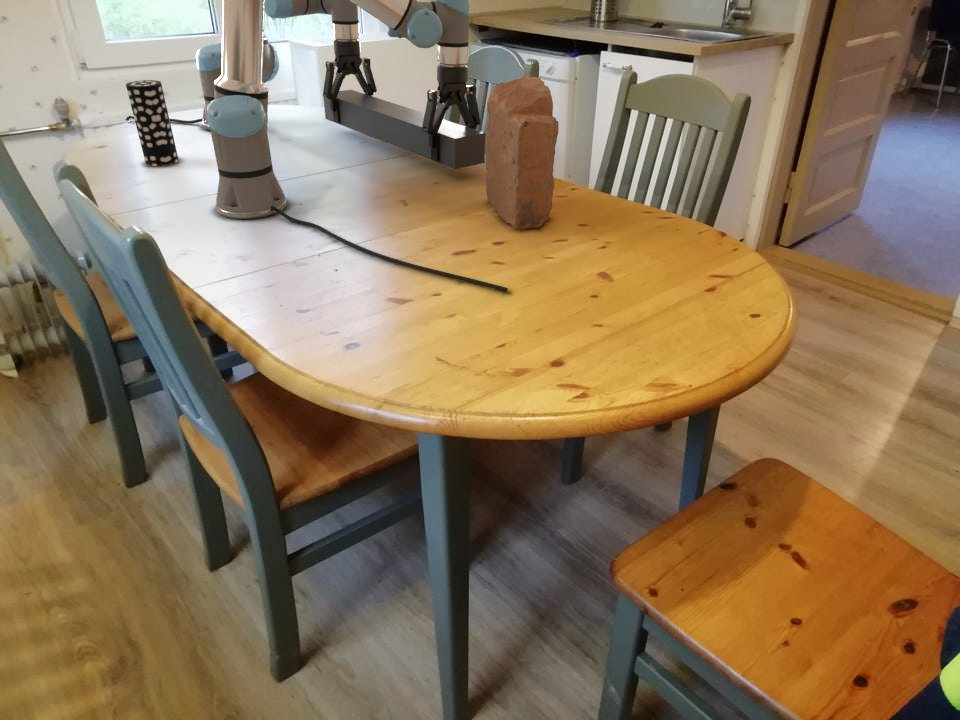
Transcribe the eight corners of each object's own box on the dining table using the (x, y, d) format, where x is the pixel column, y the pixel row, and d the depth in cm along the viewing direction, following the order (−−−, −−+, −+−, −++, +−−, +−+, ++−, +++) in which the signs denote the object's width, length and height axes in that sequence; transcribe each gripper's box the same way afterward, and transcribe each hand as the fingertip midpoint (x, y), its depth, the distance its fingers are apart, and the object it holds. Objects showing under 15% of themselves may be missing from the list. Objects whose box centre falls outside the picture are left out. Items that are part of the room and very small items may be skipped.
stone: (564, 226, 149) (572, 89, 135) (516, 232, 146) (519, 92, 132) (527, 198, 167) (531, 73, 153) (483, 203, 164) (483, 76, 149)
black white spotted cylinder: (184, 157, 190) (167, 80, 179) (169, 166, 183) (151, 87, 172) (155, 156, 190) (136, 79, 179) (139, 165, 183) (119, 86, 172)
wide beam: (484, 162, 176) (485, 132, 172) (454, 169, 171) (455, 138, 167) (352, 114, 216) (351, 89, 212) (325, 118, 211) (323, 93, 207)
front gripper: (477, 58, 175) (475, 146, 187) (405, 65, 162) (407, 160, 174) (497, 62, 170) (493, 153, 182) (424, 71, 157) (425, 167, 169)
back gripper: (372, 34, 205) (376, 112, 217) (304, 40, 192) (312, 122, 205) (386, 38, 200) (389, 117, 213) (318, 44, 188) (325, 128, 200)
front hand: (451, 156), depth 178 cm, fingers closed on wide beam, 10 cm apart
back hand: (352, 119), depth 209 cm, fingers closed on wide beam, 10 cm apart
